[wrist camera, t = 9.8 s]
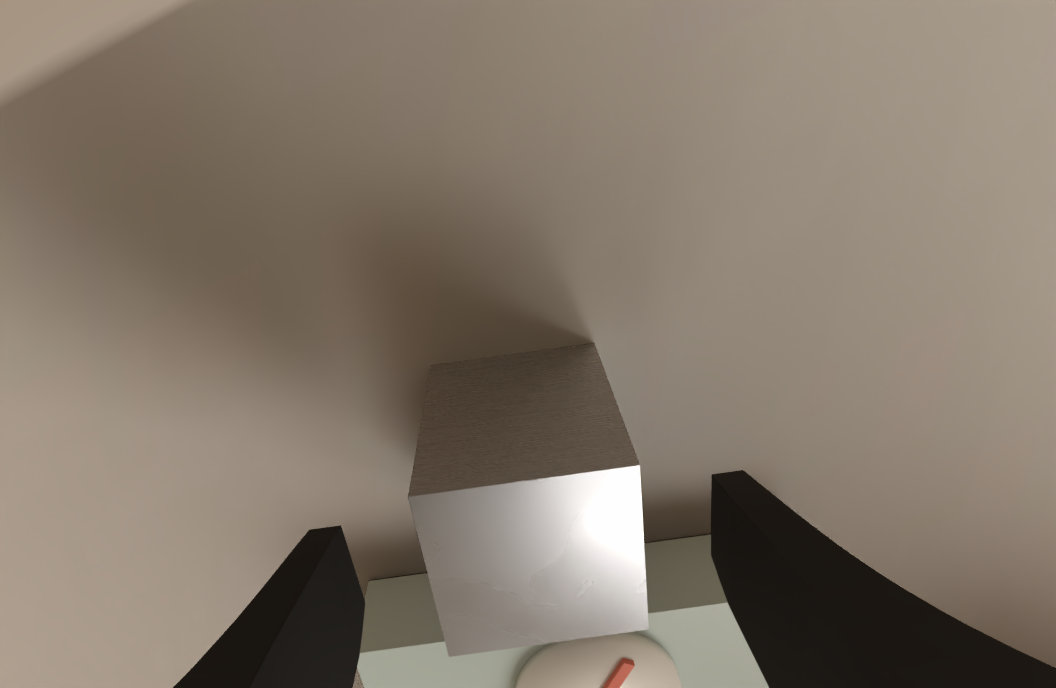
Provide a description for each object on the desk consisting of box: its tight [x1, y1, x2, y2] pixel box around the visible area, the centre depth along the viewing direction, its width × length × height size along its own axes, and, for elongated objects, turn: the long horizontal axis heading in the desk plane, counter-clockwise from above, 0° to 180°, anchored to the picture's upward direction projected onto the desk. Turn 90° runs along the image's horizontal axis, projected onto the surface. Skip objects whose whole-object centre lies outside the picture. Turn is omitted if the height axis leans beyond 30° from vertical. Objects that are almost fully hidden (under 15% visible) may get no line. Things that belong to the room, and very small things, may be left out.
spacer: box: [408, 343, 649, 657], centre depth 14 cm, size 4×4×5 cm
